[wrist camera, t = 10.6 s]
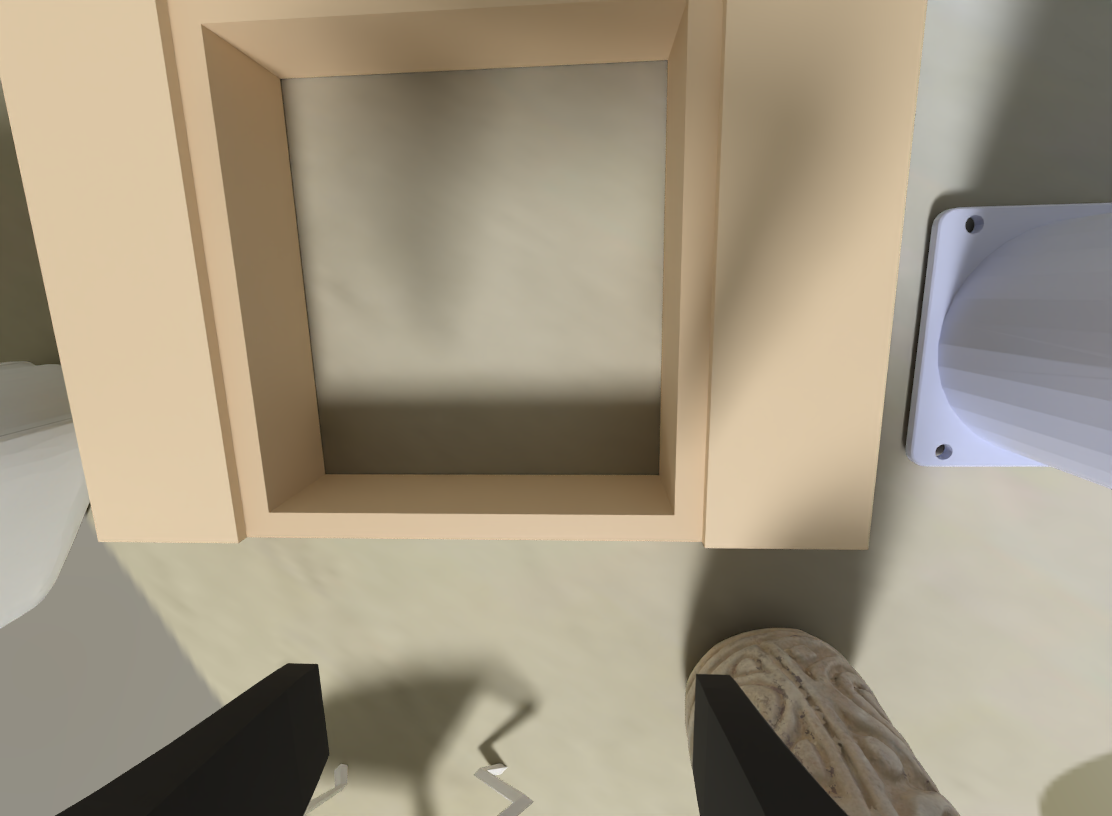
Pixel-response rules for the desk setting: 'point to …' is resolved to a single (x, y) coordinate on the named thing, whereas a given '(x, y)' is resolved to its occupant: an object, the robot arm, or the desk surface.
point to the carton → (277, 282)
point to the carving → (824, 721)
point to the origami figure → (483, 774)
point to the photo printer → (36, 484)
